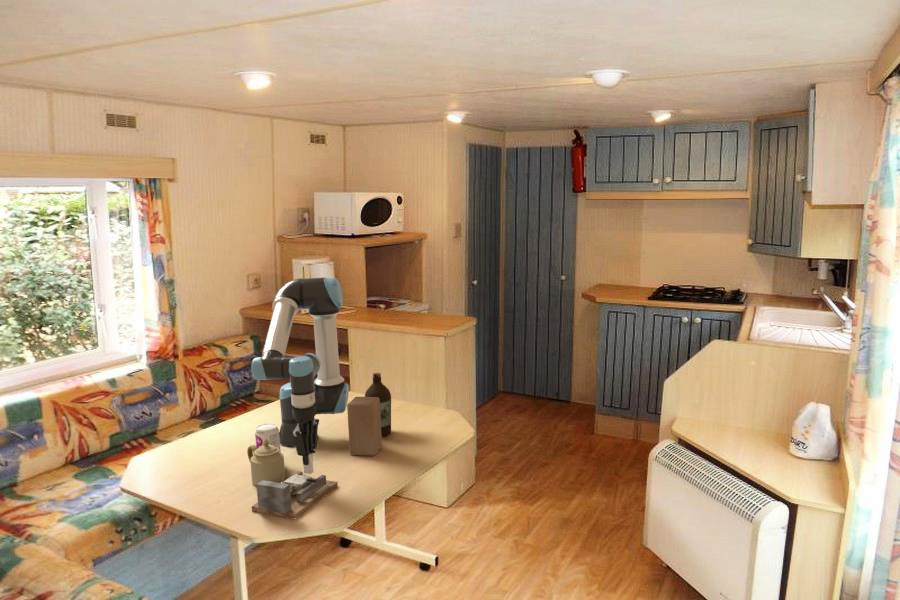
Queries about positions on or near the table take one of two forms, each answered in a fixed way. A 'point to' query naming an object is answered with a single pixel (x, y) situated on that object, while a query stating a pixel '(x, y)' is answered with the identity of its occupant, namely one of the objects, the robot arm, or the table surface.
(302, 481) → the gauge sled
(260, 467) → the sugar bowl
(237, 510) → the table surface
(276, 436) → the supplement can
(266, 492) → the gauge bed
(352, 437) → the block
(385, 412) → the olive oil
